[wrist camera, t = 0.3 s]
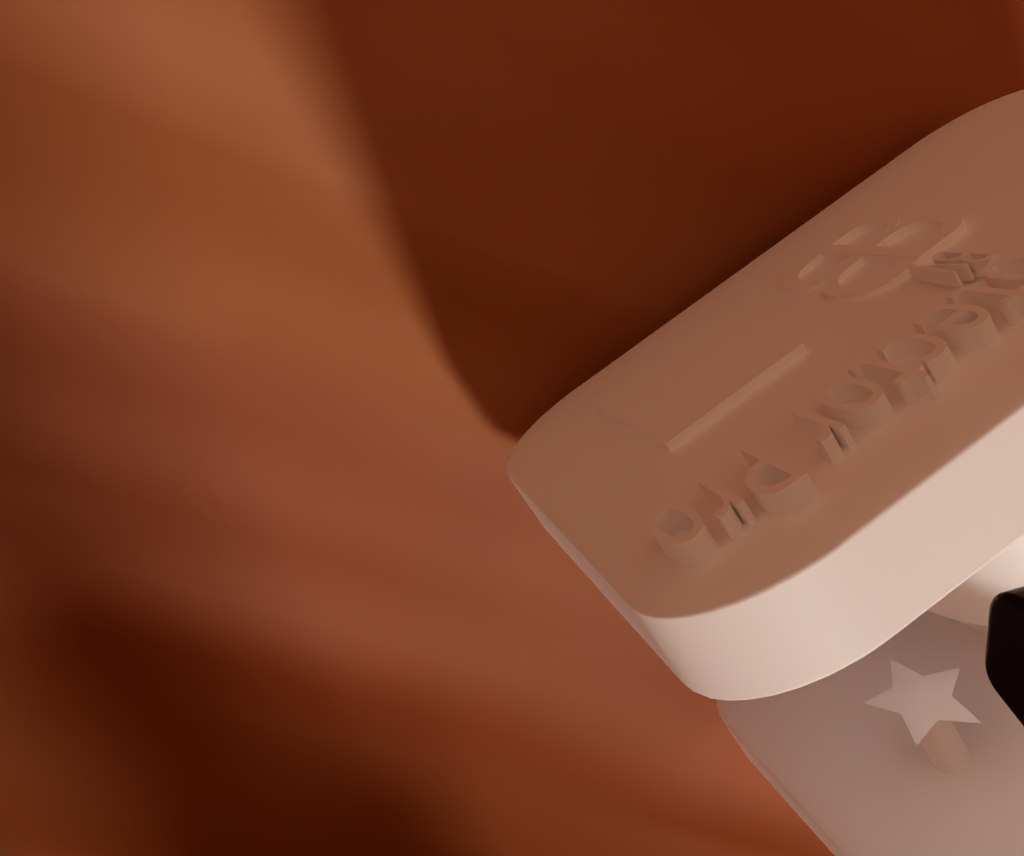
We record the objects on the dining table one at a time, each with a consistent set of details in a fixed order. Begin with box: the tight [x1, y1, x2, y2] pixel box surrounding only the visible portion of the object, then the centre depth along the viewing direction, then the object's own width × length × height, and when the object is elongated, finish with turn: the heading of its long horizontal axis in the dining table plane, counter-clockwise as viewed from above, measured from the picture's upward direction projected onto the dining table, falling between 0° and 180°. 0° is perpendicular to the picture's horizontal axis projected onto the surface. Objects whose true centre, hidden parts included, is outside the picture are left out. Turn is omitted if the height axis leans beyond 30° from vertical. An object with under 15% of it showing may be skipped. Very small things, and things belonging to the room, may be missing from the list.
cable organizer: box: [506, 90, 1024, 856], centre depth 19 cm, size 15×11×12 cm
